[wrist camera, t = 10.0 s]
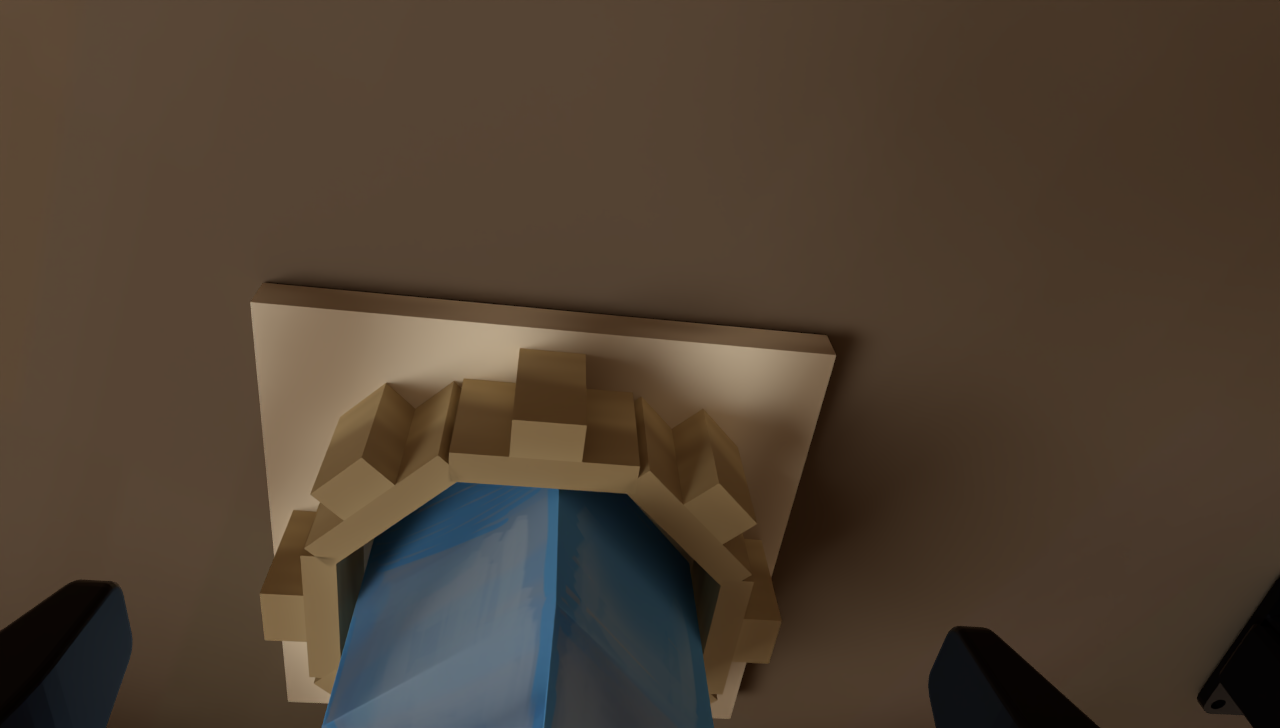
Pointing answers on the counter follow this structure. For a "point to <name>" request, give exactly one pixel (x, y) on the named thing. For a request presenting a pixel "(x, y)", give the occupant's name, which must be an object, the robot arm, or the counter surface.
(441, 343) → the gear board
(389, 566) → the perfume bottle
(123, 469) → the counter surface
